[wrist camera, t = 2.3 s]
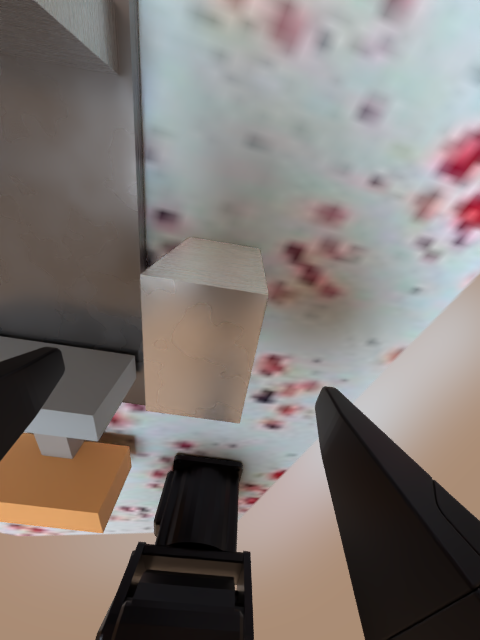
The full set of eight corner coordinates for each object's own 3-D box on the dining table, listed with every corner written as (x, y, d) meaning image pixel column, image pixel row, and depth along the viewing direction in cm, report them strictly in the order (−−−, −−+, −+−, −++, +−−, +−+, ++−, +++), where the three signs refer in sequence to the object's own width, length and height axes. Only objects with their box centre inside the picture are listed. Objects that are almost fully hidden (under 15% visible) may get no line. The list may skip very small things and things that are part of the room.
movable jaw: (134, 355, 16) (93, 415, 12) (142, 468, 22) (116, 534, 18) (-52, 328, 16) (-167, 381, 11) (8, 451, 22) (-51, 515, 17)
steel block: (260, 248, 14) (268, 294, 8) (243, 336, 17) (239, 423, 10) (189, 236, 14) (140, 274, 7) (185, 327, 16) (146, 410, 10)
